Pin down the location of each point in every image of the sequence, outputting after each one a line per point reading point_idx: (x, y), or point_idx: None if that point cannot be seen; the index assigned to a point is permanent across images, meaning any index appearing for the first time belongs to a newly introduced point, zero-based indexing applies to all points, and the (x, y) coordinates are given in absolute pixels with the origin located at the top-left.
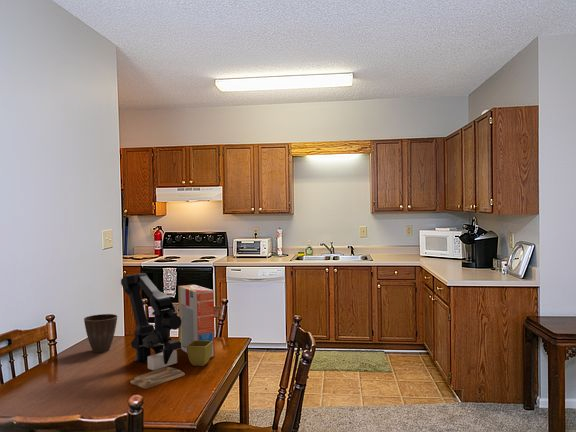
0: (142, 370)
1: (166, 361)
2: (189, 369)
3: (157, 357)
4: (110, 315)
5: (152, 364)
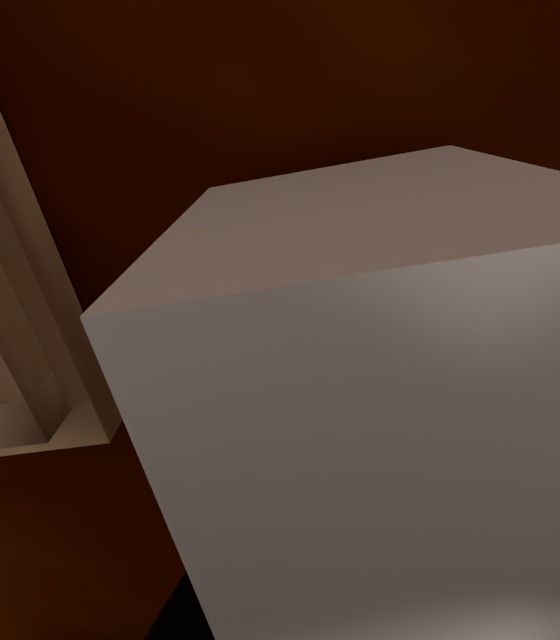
0: (550, 34)
1: None
2: (4, 581)
3: (177, 502)
4: None
5: (231, 209)
